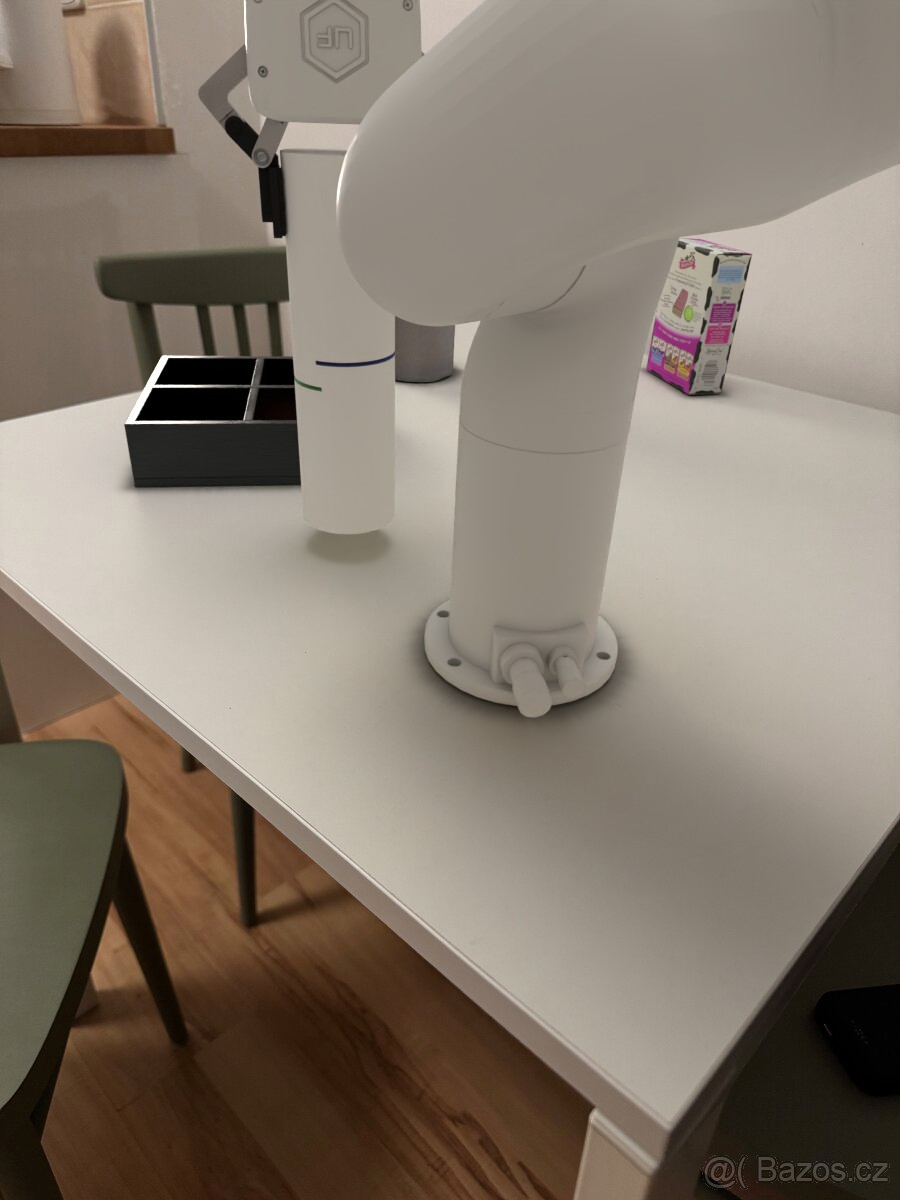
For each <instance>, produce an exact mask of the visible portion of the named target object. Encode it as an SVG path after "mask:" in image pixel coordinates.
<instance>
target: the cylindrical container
mask: <svg viewBox="0 0 900 1200" xmlns="http://www.w3.org/2000/svg"><path fill="white" fill-rule="evenodd" d="M347 150H348V148H341V147H340V148H335V147H334V148H333V147H297V148H283V149H280V150H279V161H280V167H281V170H282V186H283V202H284V218H285V234H286V235H285V236H284V237H285V251H286V252H285V254H286V268H287V269H286V270H287V284H288V285H287V286H288V299H289V301H288V302H289V315H290V329H291V330H290V331H291V344H292V345H291V346H292V347H291V348H292V356H293V364H294V375H295V378H294V379H295V395H296V410H297V426H298V442H299V457H300V473H301V484H300V488H301V489H300V490H301V504H302V516H303V519H304V521H305V522H306V524H308V525H309V526H311V528H313V529H317V530H318V531H321V532H325V533H328V534H329V533H330V534H334V535H335V534H336V535H360V534H366V533H371V532H374V531H377V530H380V529H382V528H385V527H387V526H388V525H390V524H391V523H392V522H393V520H394V519H395V517H396V380H395V352H394V351H395V316H394V315H393V314H391V313H389V312H388V311H386V310H385V309H383V308H382V307H381V306H379V305H378V304H377V303H376V302H375V301H374V300H372V299H371V298H370V297H369V296H368V294H367V293H366V292H365V291H364V290H363V289H362V287H361V286H360V285H359V283H358V282H357V281H356V279H355V278H354V276H353V274H352V272H351V271H350V269H349V267H348V265H347V262H346V260H345V258H344V255H343V252H342V249H341V245H340V241H339V236H338V230H337V219H336V201H337V189H338V183H339V177H340V172H341V168H342V164H343V161H344V158H345V155H346V152H347Z"/></svg>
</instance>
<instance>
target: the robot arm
mask: <svg viewBox="0 0 900 1200" xmlns="http://www.w3.org/2000/svg"><path fill="white" fill-rule="evenodd" d="M243 11H244V13H243V14H244V37H245V38H244V39H245V43H244V44H243V45H242V46H241V47H239V48H238V49H237V51H235V53H233V54H232V55H231V57H229V58H228V60H226V61H225V62H224V63H223V64H222V65H221V66H220V67H219V68H218V69H217V70H216V71H215V72H214V73H213V74H212V75H211V76H210V77H209V78H208V79H207V80H205V82H204V83H202V85H201V86H200V87H199V89H198V91H197V92H198V93H197V94H198V99H199V100H200V101H201V103H202V104H203V105H204V106H205V108H206V109H207V110H208V111H209V113H210V114H211V115H212V117H213V118H214V119H215V120H216V122H217V123H218V124H219V125H220V126H221V127H222V129H223V130H224V131H225V133H226V135H227V136H228V137H229V138H230V139H231V140H232V141H233V142H234V143H235V144H236V145H237V147H239V148H240V149H241V151H243V152H244V154H246V155H247V157H248V158H249V159H250V160H251V161H252V162H253V164H254V165H255V166H256V167H257V171H258V185H259V199H260V211H261V220H262V223H272V232H273V233H272V234H273V239H283V237H285V235H286V234H285V218H284V202H283V186H282V170H281V164H280V162H279V161H280V158H279V155H278V154H277V151H278V148H279V146H280V145H281V142H282V139H283V137H284V134H285V132H286V130H287V128H288V125H289V123H301V124H302V123H303V124H304V123H305V124H331V125H357V128H356V130H355V132H354V133H353V136H352V138H351V140H350V142H349V145H348V147H347V149H348V150H347V152H346V155H345V158H344V161H343V164H342V168H341V172H340V177H339V183H338V189H337V201H336V219H337V230H338V236H339V241H340V245H341V249H342V252H343V255H344V258H345V260H346V262H347V265H348V267H349V269H350V271H351V272H352V274H353V276H354V278H355V279H356V281H357V282H358V283H359V285H360V286H361V287H362V289H363V290H364V291H365V292H366V293H367V294H368V296H369V297H370V298H371V299H372V300H374V301H375V302H376V303H377V304H378V305H379V306H381V307H382V308H383V309H385V310H386V311H388V312H389V313H391V314H393V315H394V316H396V317H398V318H401V319H403V320H406V321H408V322H411V323H415V324H418V325H425V326H450V325H455V326H457V325H463V324H469V323H476V322H479V324H478V326H477V328H476V331H475V333H474V335H473V339H472V342H471V345H470V347H469V350H468V354H467V358H466V361H465V364H464V370H463V375H462V380H461V389H460V398H459V399H460V400H459V414H458V429H457V430H458V431H457V433H458V434H457V452H456V453H457V454H456V469H455V470H456V472H455V475H456V476H455V489H454V490H455V491H454V511H453V533H452V550H451V551H452V552H451V574H450V591H449V599H447V600H446V601H444V602H442V603H441V604H439V605H438V606H437V607H436V608H435V609H434V610H433V611H432V612H431V614H430V615H429V617H428V619H427V621H426V623H425V628H424V637H423V639H424V651H425V654H426V657H427V661H428V662H429V663H430V665H431V666H432V668H433V669H434V670H435V672H436V673H438V674H439V676H440V677H442V678H443V679H444V680H445V681H446V682H448V683H449V684H451V685H452V686H454V687H455V688H457V689H459V690H460V691H462V692H464V693H467V694H469V695H471V696H473V697H475V698H478V699H481V700H485V701H489V702H492V703H495V704H501V705H506V706H507V705H508V706H513V707H517V708H518V710H519V712H520V714H521V715H523V716H525V717H526V718H533V719H535V718H539V717H542V716H544V715H545V714H546V713H549V711H550V710H551V708H552V706H556V705H557V706H558V705H562V704H566V703H571V702H573V701H574V702H575V701H577V700H579V699H582V698H585V697H587V696H589V695H591V694H592V693H594V692H596V691H597V690H599V689H600V688H602V686H604V684H606V683H607V681H608V680H609V679H610V678H611V676H612V675H613V672H614V670H615V668H616V664H617V658H618V653H619V646H618V639H617V637H616V634H615V631H614V630H613V629H612V627H611V625H610V624H609V623H608V621H607V620H606V619H605V618H604V617H603V616H601V615H600V610H601V604H602V597H603V591H604V586H605V579H606V572H607V566H608V561H609V560H608V559H609V555H610V554H609V553H610V548H611V542H612V536H613V530H614V524H615V518H616V511H617V505H618V499H619V493H620V487H621V482H622V481H621V480H622V475H623V474H622V473H623V469H624V468H623V467H624V462H625V456H626V450H627V443H628V437H629V434H630V430H631V424H632V418H633V412H634V408H635V407H634V406H635V400H636V395H637V388H638V385H639V378H640V373H641V369H642V364H643V359H644V355H645V349H646V346H647V342H648V338H649V335H650V331H651V327H652V324H653V321H654V318H655V315H656V311H657V305H658V302H659V299H660V297H661V294H662V291H663V288H664V285H665V282H666V279H667V277H668V274H669V271H670V268H671V265H672V262H673V259H674V256H675V252H676V249H677V245H678V242H679V239H681V238H683V237H684V238H686V237H691V236H700V235H706V234H714V233H721V232H726V231H727V232H728V231H735V230H739V229H740V230H741V229H745V228H751V227H755V226H760V225H763V224H767V223H770V222H774V221H777V220H779V219H781V218H784V217H786V216H788V215H790V214H793V213H795V212H796V211H799V210H801V209H803V208H805V207H807V206H809V205H811V204H813V203H815V202H817V201H819V200H821V199H824V198H825V197H827V196H829V195H831V194H834V193H836V192H838V191H841V190H843V189H846V188H847V187H849V186H851V185H853V184H856V183H858V182H860V181H862V180H865V179H867V178H869V177H871V176H874V175H876V174H879V173H881V172H883V171H886V170H889V169H890V168H893V167H896V166H898V165H900V0H484V1H482V3H480V5H478V6H477V7H476V8H475V9H474V10H473V11H471V12H470V13H469V14H468V15H467V16H466V17H464V19H462V20H461V21H460V22H459V23H458V24H457V25H455V27H454V28H453V29H451V30H450V31H449V32H448V33H447V34H446V35H445V36H443V38H441V39H440V40H439V41H438V42H437V43H436V44H435V45H434V46H432V47H431V48H430V49H429V50H428V51H427V52H426V53H424V52H423V51H422V18H421V16H422V15H421V0H243ZM246 79H247V85H248V93H249V98H250V102H251V105H252V107H253V109H254V110H255V111H256V112H257V113H258V114H259V115H261V116H263V117H265V121H264V123H263V125H262V128H261V130H260V133H257V132H256V130H255V129H254V128H253V127H252V126H251V125H250V124H249V122H247V121H246V119H244V118H243V117H242V116H241V114H240V113H239V112H238V110H237V109H236V108H235V106H234V105H233V103H232V102H231V100H230V99H231V94H232V92H233V91H234V90H235V89H236V88H237V87H238V86H240V84H242V82H244V81H245V80H246Z"/></svg>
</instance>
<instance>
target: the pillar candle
mask: <svg viewBox="0 0 900 1200" xmlns="http://www.w3.org/2000/svg"><path fill="white" fill-rule="evenodd" d="M455 337H456V325H450V326H425V325H418V324H415V323H411V322H408V321H406V320H403V319H401V318H398V317H396V316H395V351H394V352H395V381H400V382H407V383H427V382H429V383H431V382H437V381H440V380H442V379H444V378H446V377H451V375H453V373H454V359H455Z"/></svg>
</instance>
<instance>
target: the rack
mask: <svg viewBox="0 0 900 1200" xmlns="http://www.w3.org/2000/svg"><path fill="white" fill-rule="evenodd" d="M294 378H295V375H294V364H293V355H292V356H290V355H289V356H288V355H287V356H283V355H281V356H280V355H279V356H278V355H271V356H270V355H267V356H266V355H161V356H160V359H159V361H158V362H157V364H156V366H155V368H154V370H153V371H152V373H151V375H150V377H149V379H148V381H147V382H146V384H145V386H144V388H143V389H142V391H141V394H140V395H139V397H138V399H137V400H136V402H135V404H134V406H133V407H132V409H131V411H130V413H129V415H128V417H127V418H126V420H125V422H124V424H123V426H124V431H125V432H124V433H125V438H126V443H127V449H128V455H129V461H130V468H131V473H132V478H133V484H134V487H135V488H143V487H144V488H146V487H147V488H148V487H149V488H151V487H156V488H157V487H205V486H206V487H213V486H214V487H215V486H217V487H219V486H223V487H224V486H275V485H276V486H280V485H281V486H282V485H283V486H285V485H301V473H300V457H299V442H298V426H297V410H296V395H295V379H294Z"/></svg>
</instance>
